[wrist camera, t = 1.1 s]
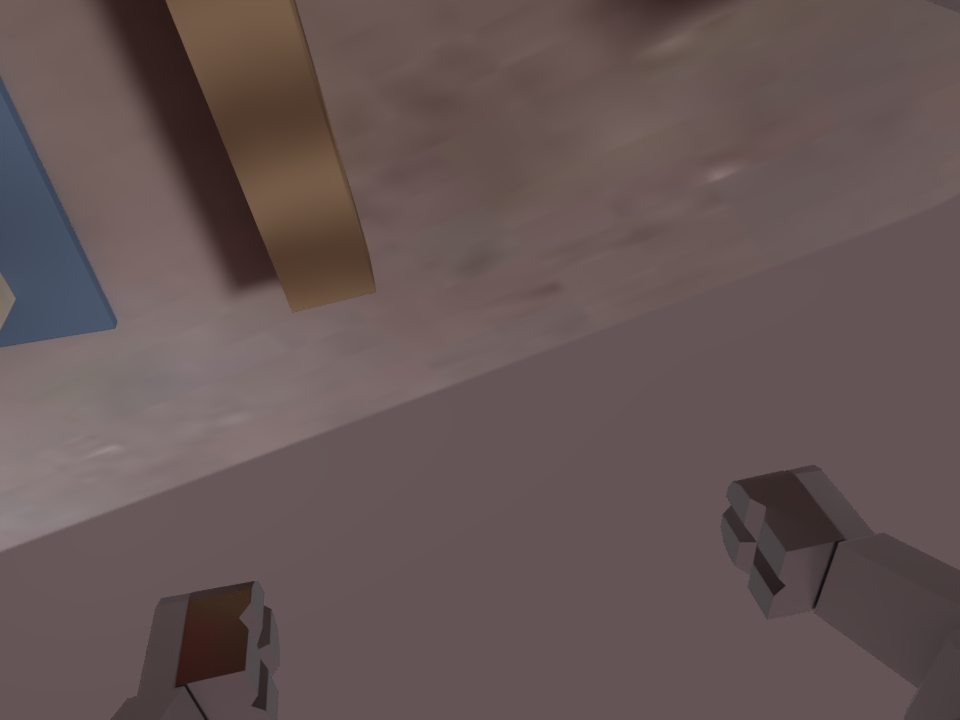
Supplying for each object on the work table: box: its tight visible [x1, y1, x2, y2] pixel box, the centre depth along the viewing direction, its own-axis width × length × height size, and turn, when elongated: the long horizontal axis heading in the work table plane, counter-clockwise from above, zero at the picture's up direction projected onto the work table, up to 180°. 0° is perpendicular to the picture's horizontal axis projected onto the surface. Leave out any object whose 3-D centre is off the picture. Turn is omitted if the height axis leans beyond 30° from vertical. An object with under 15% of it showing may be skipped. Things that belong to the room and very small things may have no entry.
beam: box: [165, 0, 376, 313], centre depth 29 cm, size 18×4×4 cm, turn 8°
